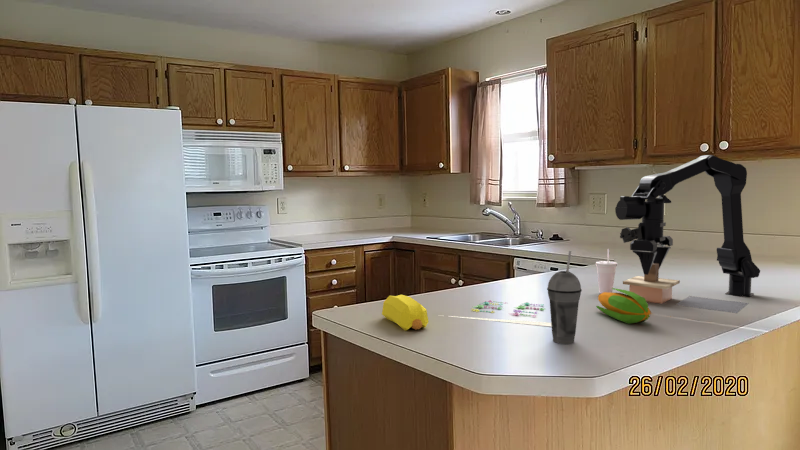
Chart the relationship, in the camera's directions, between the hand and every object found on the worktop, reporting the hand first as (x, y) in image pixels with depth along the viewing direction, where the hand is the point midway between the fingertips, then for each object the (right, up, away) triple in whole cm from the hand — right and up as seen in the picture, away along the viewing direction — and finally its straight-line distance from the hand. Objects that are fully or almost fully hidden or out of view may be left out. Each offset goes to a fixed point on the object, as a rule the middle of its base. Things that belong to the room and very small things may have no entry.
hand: (651, 272), depth 157 cm
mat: (+14, -9, -7) cm, 18 cm away
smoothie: (-9, -8, +12) cm, 16 cm away
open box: (0, -8, +1) cm, 8 cm away
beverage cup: (-37, -12, -38) cm, 55 cm away
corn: (-17, -10, -18) cm, 27 cm away
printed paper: (-44, -10, -7) cm, 45 cm away
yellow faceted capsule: (-72, -11, -21) cm, 76 cm away
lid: (0, -3, 0) cm, 3 cm away
